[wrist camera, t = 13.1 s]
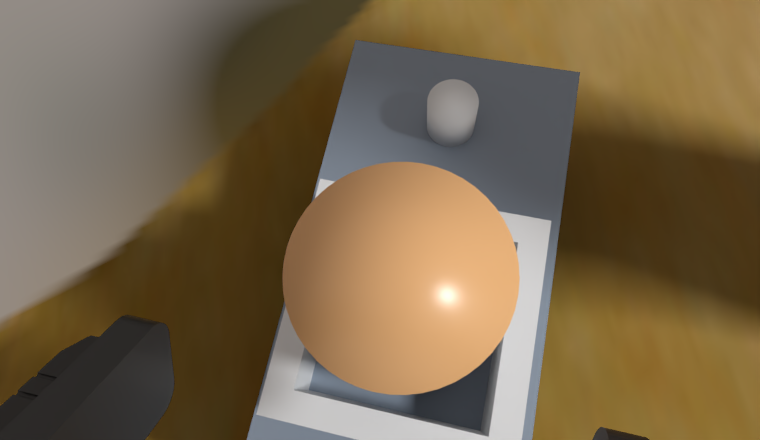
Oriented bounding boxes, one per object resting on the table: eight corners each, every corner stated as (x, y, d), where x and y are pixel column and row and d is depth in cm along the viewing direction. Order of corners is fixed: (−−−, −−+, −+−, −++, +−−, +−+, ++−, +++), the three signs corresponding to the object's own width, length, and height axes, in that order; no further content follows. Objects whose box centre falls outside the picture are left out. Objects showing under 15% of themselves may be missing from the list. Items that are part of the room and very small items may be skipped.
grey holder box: (544, 143, 30) (598, 36, 21) (486, 540, 24) (525, 630, 15) (369, 115, 31) (348, 2, 22) (276, 484, 25) (196, 536, 16)
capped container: (483, 277, 21) (534, 182, 11) (462, 405, 19) (499, 421, 10) (363, 254, 21) (315, 145, 12) (334, 376, 20) (254, 364, 10)
